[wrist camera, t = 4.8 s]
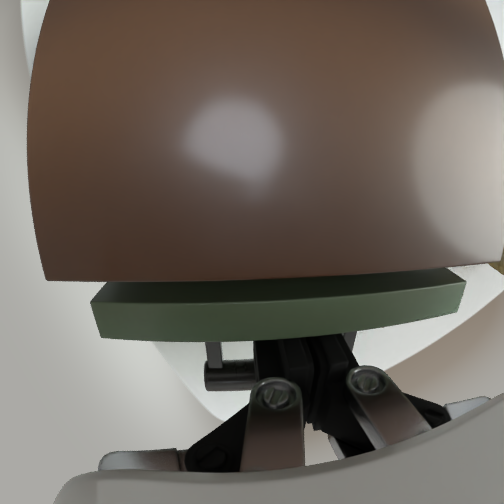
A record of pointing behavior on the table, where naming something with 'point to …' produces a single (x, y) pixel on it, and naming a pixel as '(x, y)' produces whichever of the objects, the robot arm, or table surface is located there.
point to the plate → (498, 18)
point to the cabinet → (265, 138)
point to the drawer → (269, 311)
